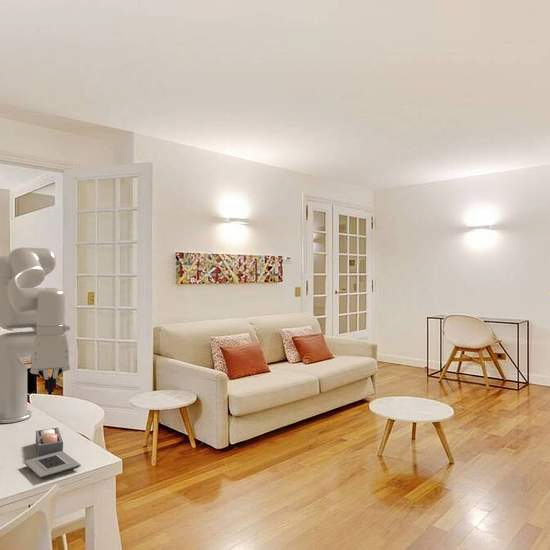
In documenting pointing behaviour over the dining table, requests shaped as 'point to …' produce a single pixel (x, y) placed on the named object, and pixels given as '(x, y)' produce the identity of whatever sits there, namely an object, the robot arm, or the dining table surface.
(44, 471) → the electrical outlet
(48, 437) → the pink button
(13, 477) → the dining table surface
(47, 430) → the white button
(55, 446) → the button console
